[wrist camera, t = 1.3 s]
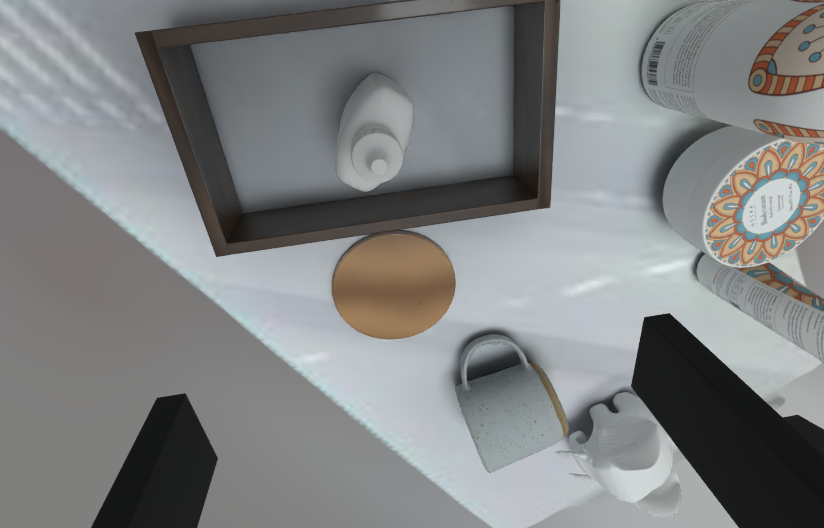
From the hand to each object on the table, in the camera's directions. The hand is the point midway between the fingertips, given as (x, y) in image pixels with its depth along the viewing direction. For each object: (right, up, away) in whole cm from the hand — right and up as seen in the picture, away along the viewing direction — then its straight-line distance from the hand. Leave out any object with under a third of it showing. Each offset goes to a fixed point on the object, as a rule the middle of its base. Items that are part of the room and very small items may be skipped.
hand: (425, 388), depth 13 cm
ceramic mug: (+7, -7, +30) cm, 31 cm away
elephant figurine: (+20, -13, +35) cm, 42 cm away
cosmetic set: (+22, +11, +22) cm, 33 cm away
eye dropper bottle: (-3, +14, +17) cm, 22 cm away
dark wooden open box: (-3, +14, +17) cm, 22 cm away
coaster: (-2, +2, +23) cm, 24 cm away
